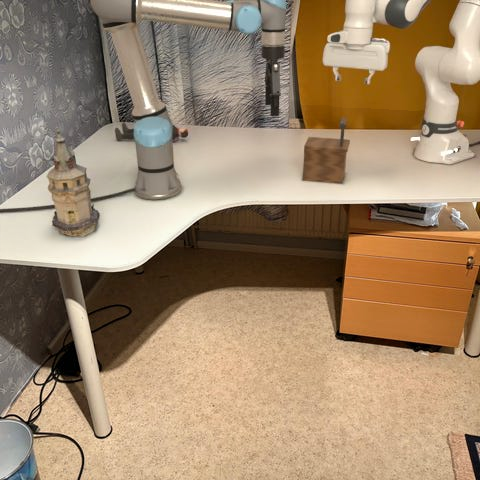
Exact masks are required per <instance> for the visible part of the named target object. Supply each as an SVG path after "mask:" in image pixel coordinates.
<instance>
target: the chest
mask: <svg viewBox="0 0 480 480" xmlns="http://www.w3.org/2000/svg"><path fill="white" fill-rule="evenodd" d="M347 153H348V151H347V152H339V151H326V150H313V149H304V148H303V165H302V181H306V182H307V181H308V182H317V183H318V182H319V183H327V184H328V183H329V184H339V185H342V184H343V182H344V180H345V179H344V178H345V174H346V163H347V155H348V154H347Z"/></svg>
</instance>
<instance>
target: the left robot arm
mask: <svg viewBox="0 0 480 480" xmlns="http://www.w3.org/2000/svg"><path fill="white" fill-rule="evenodd" d="M89 3H90V6H91V8H92V10H93V12H94V13H95V14H96V15H97V16H98V17H99V19H100V22H101V25H102V27H103V30H105V31H107V32H108V33H109V34H110V36H111V37H110V38H111V40H112V42H113V46H114V49H115V52H116V55H117V58H118V61H119V64H120V67H121V71H122V74H123V76H124V80H125V82H126V86H127V89H128V92H129V95H130V98H131V101H132V104H133V109H132V111H131V117H132V119H133V122H134V125H133V129H134V137H135V139H134V143H135V151H136V160H137V175H136V179H135V184H134V187H133V188H129V189H125V190H122V191H119V192H115V193H111V194H106V195H102V196H96V197H91V203H92V202H96V201H102V200H106V199H110V198H115V197H119V196H122V195H126V194H129V193H132V192H133V193H135V195H136V196H137V197H138V198H141V199H143V200H148V201H161V200H168V199H171V198H174V197H176V196H178V195H179V194H180V193H181V192H182V182H181V180H180V177H179V176H180V175H179V173H178V172H177V171H176V169H175V161H174V160H175V159H174V158H175V157H174V147H173V145H174V144H173V141H172V132H173V125H174V124H173V121H172V118H171V117H170V115H169V113H168V109H167V106H166V103H165V102H164V101H161V100H160V98H159V94H158V92H157V88H156V84H155V81H154V78H153V74H152V70H151V68H150V64H149V61H148V57H147V55H146V51H145V48H144V43H143V41H142V38H141V34H140V31H139V28H138V24H139V23H140V22H141V21H148V22H155V23H164V24H174V25H182V26H189V27H190V26H192V27H200V28H209V29H217V30H227V31H231V32H240V33H241V34H244V35H252V34H255V33H256V32H258V31H259V29H260V28H261V35H260V36H261V40H260V41H261V42H260V43H261V44H262V45H261V52H260V53H261V58H262V59H264V60H265V71H264V72H265V73H264V85H265V86H264V87H265V91H264V92H265V93H264V94H265V95H264V98H265V99H264V106H270V117H280V97H281V95H282V93H281V65H280V64H279V62H278V61H279V60H282V59H284V58H285V55H286V53H285V52H286V46H285V43H286V37H287V36H288V34H287V33H286V21H287V19H286V18H287V0H226V1H222V0H89ZM48 209H55V205H54V204H48V205H37V206H27V207H11V208H0V213H11V212H26V211H27V212H28V211H39V210H48Z"/></svg>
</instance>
